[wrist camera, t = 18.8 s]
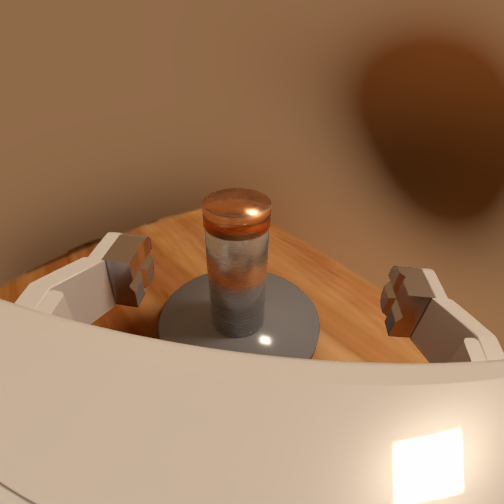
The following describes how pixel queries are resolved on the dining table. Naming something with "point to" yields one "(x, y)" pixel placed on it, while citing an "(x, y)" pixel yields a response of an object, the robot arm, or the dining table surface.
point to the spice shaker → (237, 258)
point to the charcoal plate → (262, 342)
